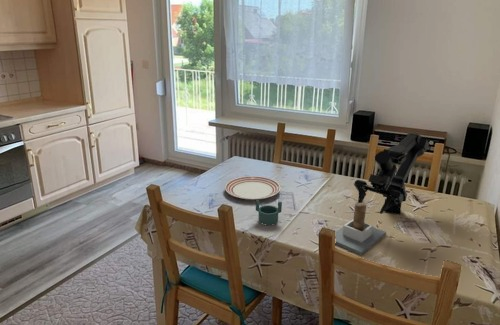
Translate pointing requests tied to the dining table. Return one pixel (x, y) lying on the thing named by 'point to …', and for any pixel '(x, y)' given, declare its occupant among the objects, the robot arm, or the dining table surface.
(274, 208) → the teal handled pot
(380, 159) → the robot arm
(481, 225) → the dining table surface
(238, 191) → the dinner plate
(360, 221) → the dowel post
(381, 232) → the cup socket
